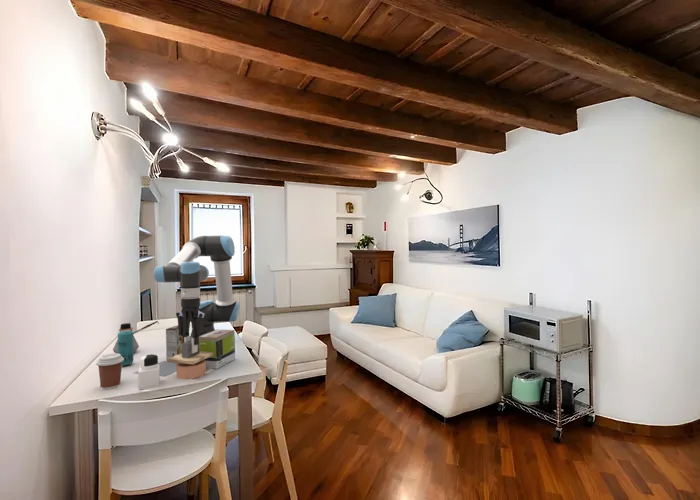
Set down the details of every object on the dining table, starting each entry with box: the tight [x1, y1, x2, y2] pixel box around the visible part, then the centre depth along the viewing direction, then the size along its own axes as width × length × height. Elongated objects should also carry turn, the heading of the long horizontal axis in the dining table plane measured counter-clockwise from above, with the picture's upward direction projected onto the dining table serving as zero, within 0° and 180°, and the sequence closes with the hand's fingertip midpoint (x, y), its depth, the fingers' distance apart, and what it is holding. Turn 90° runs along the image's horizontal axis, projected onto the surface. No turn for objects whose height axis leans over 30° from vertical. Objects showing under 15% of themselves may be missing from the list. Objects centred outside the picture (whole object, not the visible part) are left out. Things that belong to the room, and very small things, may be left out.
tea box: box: [199, 329, 236, 370], centre depth 164 cm, size 15×10×15 cm, turn 165°
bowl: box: [176, 360, 207, 380], centre depth 149 cm, size 11×11×6 cm
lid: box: [167, 340, 214, 364], centre depth 149 cm, size 13×13×7 cm
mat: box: [133, 360, 177, 378], centre depth 156 cm, size 17×17×1 cm
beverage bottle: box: [117, 322, 134, 366], centre depth 161 cm, size 6×7×20 cm
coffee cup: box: [95, 352, 124, 390], centre depth 138 cm, size 9×9×12 cm
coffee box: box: [165, 324, 183, 361], centre depth 171 cm, size 9×6×16 cm
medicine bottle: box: [137, 353, 161, 391], centre depth 137 cm, size 7×7×12 cm
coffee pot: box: [112, 320, 160, 354], centre depth 185 cm, size 21×12×15 cm, turn 130°
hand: (190, 351), depth 149 cm, fingers closed on lid, 3 cm apart
